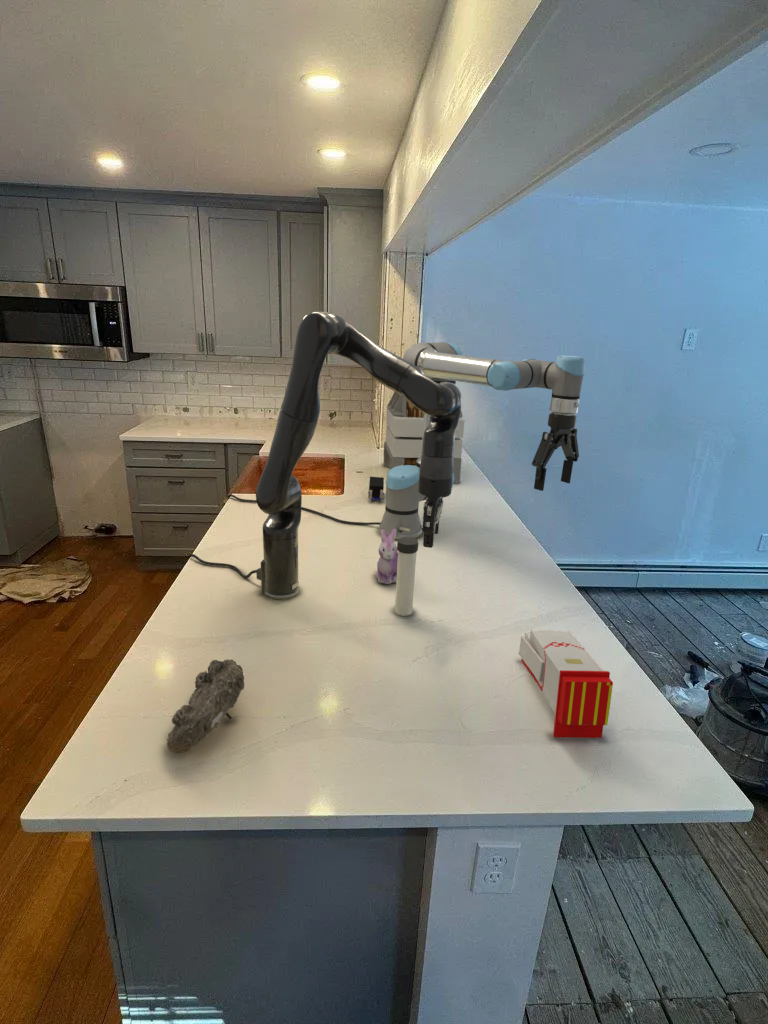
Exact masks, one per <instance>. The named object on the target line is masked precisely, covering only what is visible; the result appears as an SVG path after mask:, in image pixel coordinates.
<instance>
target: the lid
mask: <svg viewBox="0 0 768 1024" xmlns="http://www.w3.org/2000/svg"><path fill="white" fill-rule="evenodd" d="M396 546H397V550H398V551H399V552H401V553H406V554H412V553H415V552H416V553H417V552H418V550H419V540H418V538H411V537H402V538H399V539H398V540H397V541H396Z"/></svg>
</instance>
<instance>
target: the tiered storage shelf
mask: <svg viewBox="0 0 768 1024" xmlns="http://www.w3.org/2000/svg"><path fill="white" fill-rule="evenodd" d="M385 414H386V415H385V423H386V428H385V438H384V442H383V466H384V467H388V468H389V470H390V469H392V468H394V467H396V466H401V465H404V466H405V465H413V466H416V461H417V459H418V458H420V457H421V449H422V434H423V419H424V413H423V412H422V411H420V410H419V409H418V408H417V407H415V406H414V405H413V404H412V403H411V402H409V401H408V400H407V399H406V398H405V397H404V396H402V395H400V394H398V393H396V392H394V391H393V394H392V395H391V398H390V400H389V402H388V404H387V405H386V413H385ZM464 429H465V419H464V418H463V411H461V412H460V417H459V421H458V425H457V429H456V432H455V443H454V455H453V460H454V468H453V473H454V484H455V483H456V484H459V483H461V472H462V461H463V460H462V453H463V442H464V441H463V440H462V439H463V438H464V431H465V430H464Z"/></svg>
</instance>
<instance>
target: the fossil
mask: <svg viewBox="0 0 768 1024" xmlns="http://www.w3.org/2000/svg"><path fill="white" fill-rule="evenodd" d="M243 670H244V669H243V667H242V665H240V664H237V662H236V661H235V660H234V659H232V658H231V659H227V658H226V659H224V660H223V661H222V660H217V659H212V660H211V661H210V663H209V665H208V666H207V671H201V672H199V673H198V674H197V675H196V676H195V680H194V684H195V685H194V687H195V689H194V690H193V693H192V694H191V697H190V698H189V700H188V704H184V705H182V706H181V707H180V709H177V710H176V711H175V713H174V715H173V716H172V718H171V723H172V724H173V727H172V730H171V731H170V732H168V734H167V738H166V741H167V742H166V745H167V749H168V750H169V751H173V752H174V753H176V754H178V753H182V752H188V751H189V752H192V751H193V750H195V748H196V747H197V746H199V744H200V743H201V742H203V741H204V740H205V739H206V738H207V737H208V736H209V735H210V734H211V733H212V732H214V730H215V729H217V727H218V726H219V724H220V722H221V721H222V720H223V719H224V718H225V716H226V717H227V719H229V720H233V717H232V715H230V714H229V710H230V709H231V708H234V706H235V704H236V703H237V702H238V699H239V697H240V695H241V693H242V691H243V690H245V689H244V688H245V675H244V671H243Z"/></svg>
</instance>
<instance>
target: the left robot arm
mask: <svg viewBox="0 0 768 1024" xmlns="http://www.w3.org/2000/svg"><path fill="white" fill-rule="evenodd" d="M294 343H295V344H294V350H293V357H292V362H291V368H290V369H291V370H290V372H289V376H288V380H287V384H286V387H285V393H284V396H283V400H282V403H281V406H280V410H279V412H278V413H279V414H278V417H277V420H276V421H277V422H276V425H275V426H276V427H275V431H274V434H273V438H272V441H271V445H270V448H269V453H268V457H267V459H266V462H265V465H264V468H263V470H262V473H261V475H260V477H259V480H258V483H257V486H256V490H255V500H256V501H257V502H256V504H257V507H258V508H259V510H260V511H261V512H263V513H264V514H267V517H266V519H265V521H264V522H263V524H262V549H263V551H262V552H263V559H262V560H261V561H260V567H259V568H257V569H253V570H251V571H250V572H249V573H248V574H246V575H245V574H244V573H243V572H242V571H241V570H240V569H239V568H238V567H237V566H235V565H232V564H230V563H225V562H223V563H222V562H211V561H206V560H203V559H201V558H200V557H199V556H197V555H196V554H194V553H191V554H189V555H188V556H187V559H190V558H194V559H196V561H198V562H199V563H201V564H204V565H207V566H215V567H218V566H219V567H226V568H231V569H233V570H234V571H236V572H237V573H238V575H240V576H241V578H244V579H249V578H250V577H251V576H252V575H253V574H256V580H258V581H260V585H261V586H260V587H261V594H262V595H265V596H266V597H267V598H270V599H274V600H286V599H291V598H294V597H295V596H297V595H298V594H299V592H300V587H299V585H300V583H299V527H300V524H301V520H302V509H301V507H302V505H303V504H302V503H303V501H302V500H303V499H302V498H303V497H302V493H303V492H302V488H301V484H300V482H299V480H298V479H297V477H296V476H295V475H293V473H294V470H295V467H296V466H297V464H298V462H299V461H300V459H301V457H302V456H303V455H304V453H305V452H306V450H307V448H308V446H309V445H310V443H311V441H312V440H313V437H314V434H315V431H316V428H317V425H318V421H319V418H320V413H321V399H320V398H321V397H320V388H319V387H320V386H319V385H320V384H319V383H320V376H321V372H322V370H323V367H324V363H325V360H326V358H327V355H333V354H334V355H336V356H340V357H343V358H345V359H347V360H350V361H352V362H354V363H355V364H357V365H358V366H359V367H361V368H362V369H363V370H364V371H366V373H368V374H369V375H370V376H371V377H372V378H373V379H374V380H375V381H376V382H378V383H380V384H381V385H382V386H384V387H385V388H387V389H389V390H391V391H393V393H394V392H396V393H398V394H400V395H402V396H404V397H405V398H406V399H407V400H408V401H409V402H411V403H412V404H413V405H414V406H415V407H417V408H418V409H419V410H420V411H422V412H423V413H425V414H427V415H429V416H430V421H429V425H428V427H427V428H426V429H425V431H424V435H423V446H422V456H421V461H420V472H419V486H418V491H419V493H420V494H421V495H423V496H426V497H427V498H428V499H426V500H425V501H424V502H423V515H422V533H423V542H422V546H423V547H424V548H428V549H429V548H430V549H432V548H433V546H434V541H435V540H434V539H435V538H434V537H435V535H438V534H439V530H440V520H441V517H442V514H443V508H444V500H443V499H444V498H446V497H449V496H451V494H452V489H453V487H452V479H453V468H454V460H453V455H454V443H455V432H456V429H457V425H458V421H459V417H460V412H462V406H463V397H462V392H461V390H460V387H459V386H458V385H455V384H453V383H451V382H442V383H439V384H438V383H436V382H434V381H432V380H431V379H429V378H427V377H426V376H424V373H423V371H422V370H421V369H420V368H418V367H417V366H415V365H413V364H411V363H409V362H408V361H406V360H404V359H403V357H401V356H399V355H396V354H395V353H393V352H391V351H390V350H387V349H386V348H384V347H382V346H381V345H379V344H377V343H376V342H374V341H373V340H372V339H370V338H368V337H367V336H366V335H364V334H363V333H362V332H360V331H359V330H357V329H356V328H355V327H354V326H353V325H352V324H350V323H349V322H348V321H347V320H345V319H344V318H343V317H342V316H340V315H339V314H337V313H335V312H331V311H312V312H309V313H307V314H306V315H304V316H303V317H302V319H301V320H300V322H299V325H298V327H297V331H296V337H295V342H294ZM428 523H429V526H428Z"/></svg>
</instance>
